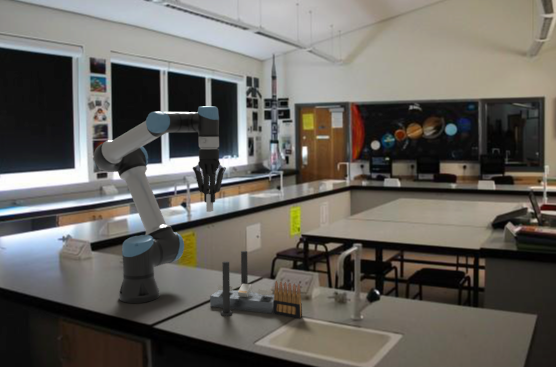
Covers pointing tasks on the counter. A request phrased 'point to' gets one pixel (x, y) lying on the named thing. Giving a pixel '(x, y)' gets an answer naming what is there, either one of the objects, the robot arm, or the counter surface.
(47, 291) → the counter surface
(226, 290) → the cord post near
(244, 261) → the cord post far
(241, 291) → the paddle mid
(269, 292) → the paddle right
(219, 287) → the paddle left
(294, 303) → the ammunition clip
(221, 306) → the breaker panel
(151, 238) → the robot arm
